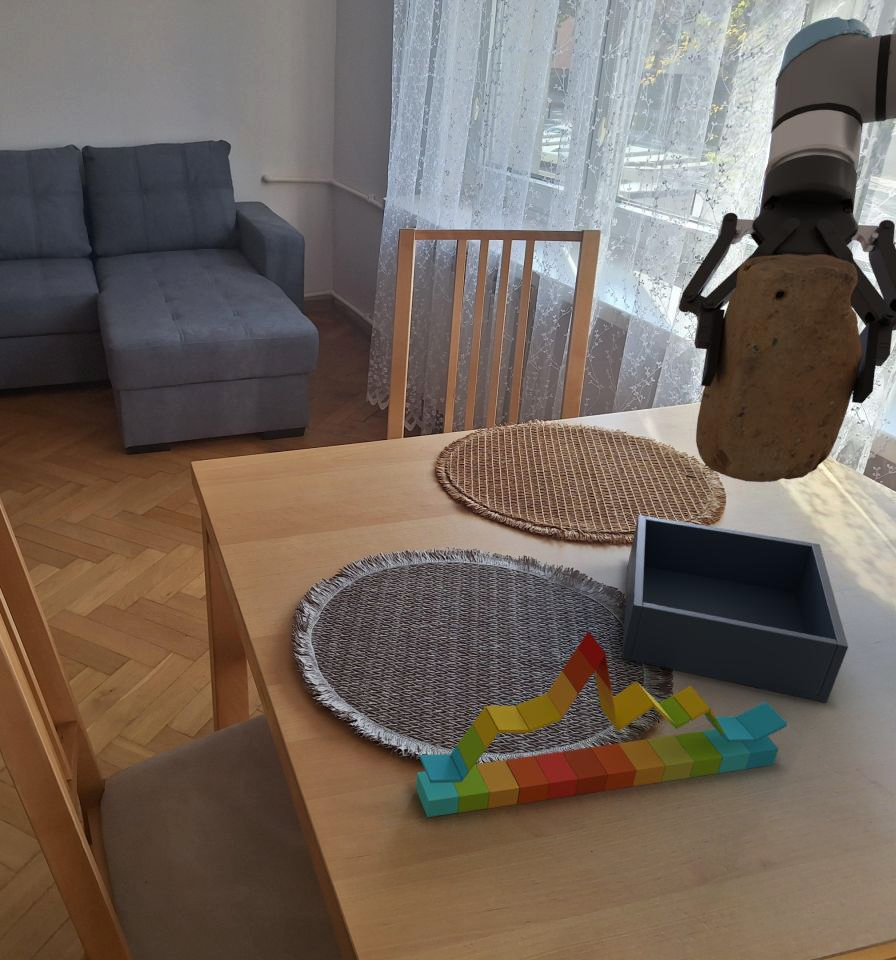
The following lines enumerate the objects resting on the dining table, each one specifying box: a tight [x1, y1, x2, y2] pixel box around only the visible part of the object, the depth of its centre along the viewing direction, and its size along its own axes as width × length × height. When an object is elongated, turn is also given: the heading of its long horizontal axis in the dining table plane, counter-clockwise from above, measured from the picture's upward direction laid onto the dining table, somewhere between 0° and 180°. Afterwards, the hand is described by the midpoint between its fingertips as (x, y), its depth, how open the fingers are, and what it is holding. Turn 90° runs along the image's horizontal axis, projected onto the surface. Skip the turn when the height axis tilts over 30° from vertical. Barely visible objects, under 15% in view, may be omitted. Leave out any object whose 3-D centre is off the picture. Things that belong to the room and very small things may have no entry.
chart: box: [415, 631, 788, 818], centre depth 69 cm, size 30×3×15 cm, turn 99°
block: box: [695, 254, 862, 483], centre depth 78 cm, size 11×8×20 cm
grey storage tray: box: [621, 514, 849, 703], centre depth 87 cm, size 18×18×7 cm
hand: (783, 388), depth 76 cm, fingers closed on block, 11 cm apart
